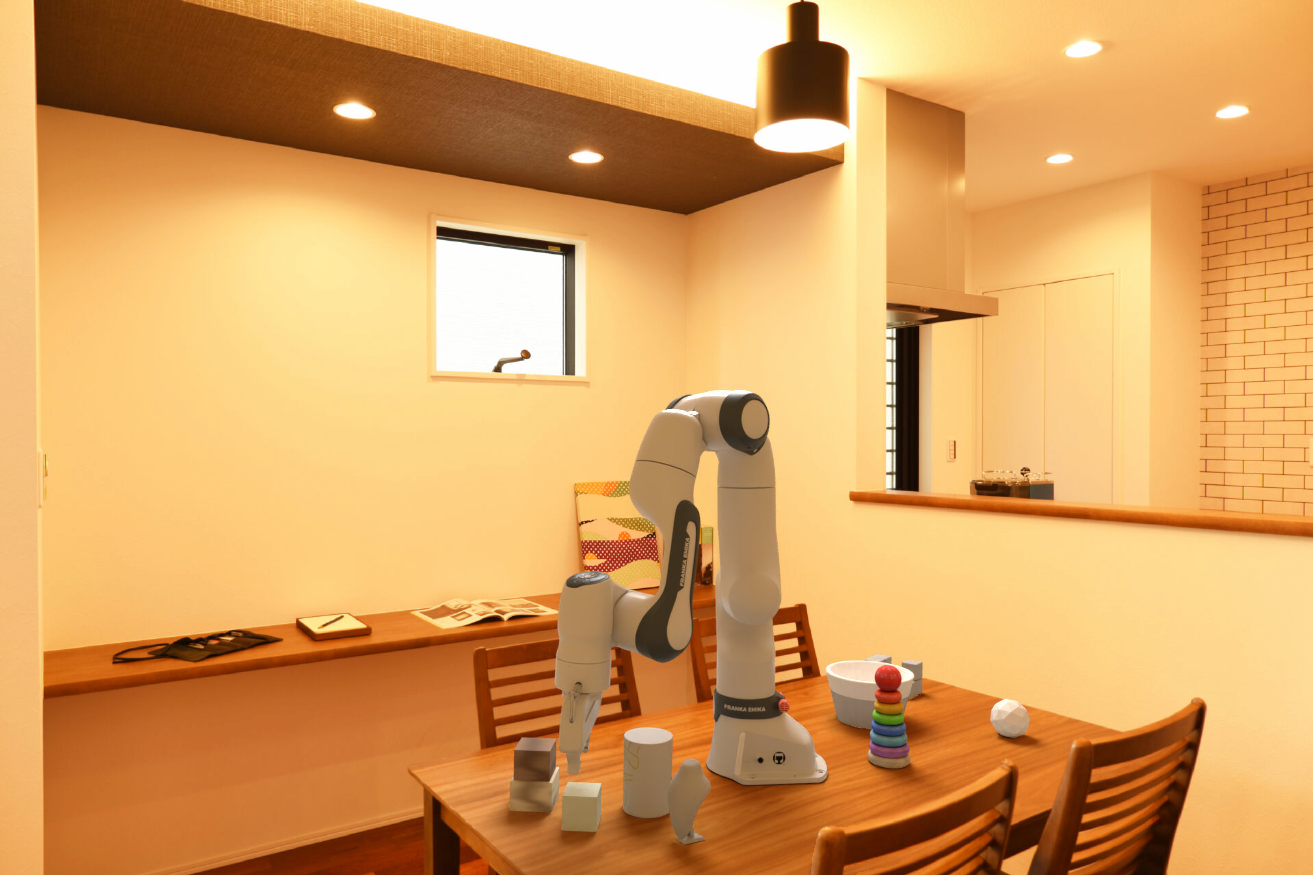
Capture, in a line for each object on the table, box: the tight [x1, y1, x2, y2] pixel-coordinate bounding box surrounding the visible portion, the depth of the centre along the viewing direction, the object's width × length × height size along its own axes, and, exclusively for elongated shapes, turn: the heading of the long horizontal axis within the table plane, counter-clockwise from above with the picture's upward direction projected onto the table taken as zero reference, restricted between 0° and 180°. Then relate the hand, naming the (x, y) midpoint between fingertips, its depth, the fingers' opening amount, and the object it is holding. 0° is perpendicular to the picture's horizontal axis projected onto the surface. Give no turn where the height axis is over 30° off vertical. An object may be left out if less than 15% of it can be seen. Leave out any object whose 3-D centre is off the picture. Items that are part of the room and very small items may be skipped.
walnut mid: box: [513, 737, 557, 782], centre depth 145 cm, size 6×6×5 cm
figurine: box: [668, 758, 712, 845], centre depth 132 cm, size 8×5×12 cm
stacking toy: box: [867, 665, 911, 769], centre depth 166 cm, size 8×8×19 cm
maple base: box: [509, 766, 560, 813], centre depth 145 cm, size 7×7×5 cm
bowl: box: [825, 660, 914, 730], centre depth 192 cm, size 19×19×11 cm
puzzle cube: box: [863, 653, 924, 700], centre depth 212 cm, size 12×12×8 cm
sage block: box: [561, 781, 602, 833], centre depth 137 cm, size 6×6×6 cm
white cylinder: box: [622, 726, 674, 819], centre depth 143 cm, size 8×8×12 cm
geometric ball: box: [990, 698, 1031, 739], centre depth 182 cm, size 8×8×8 cm
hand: (578, 761), depth 137 cm, fingers open, 8 cm apart
